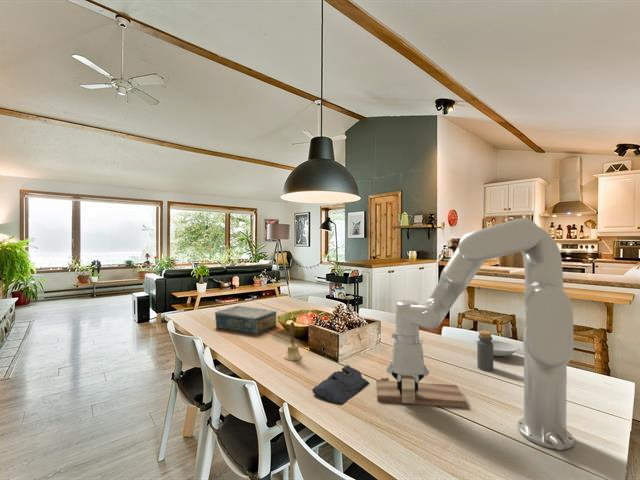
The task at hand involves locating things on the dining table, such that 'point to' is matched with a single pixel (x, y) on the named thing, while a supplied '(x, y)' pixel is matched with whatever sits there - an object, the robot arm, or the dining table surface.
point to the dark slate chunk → (341, 385)
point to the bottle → (485, 351)
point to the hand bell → (292, 347)
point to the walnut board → (422, 394)
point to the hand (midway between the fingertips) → (407, 391)
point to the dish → (502, 348)
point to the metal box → (245, 319)
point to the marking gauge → (408, 388)
